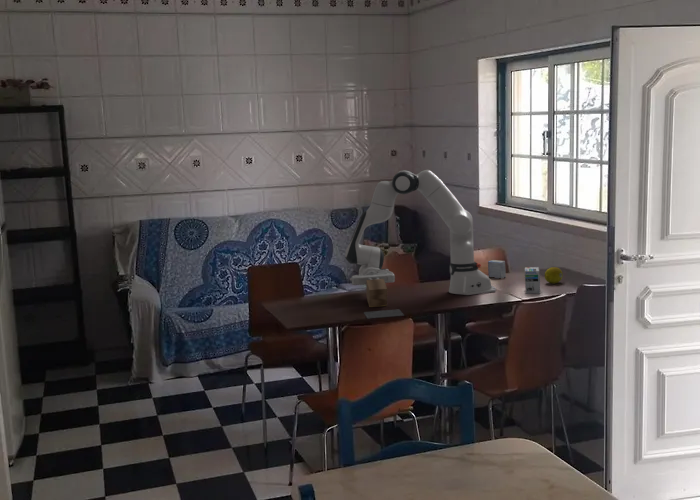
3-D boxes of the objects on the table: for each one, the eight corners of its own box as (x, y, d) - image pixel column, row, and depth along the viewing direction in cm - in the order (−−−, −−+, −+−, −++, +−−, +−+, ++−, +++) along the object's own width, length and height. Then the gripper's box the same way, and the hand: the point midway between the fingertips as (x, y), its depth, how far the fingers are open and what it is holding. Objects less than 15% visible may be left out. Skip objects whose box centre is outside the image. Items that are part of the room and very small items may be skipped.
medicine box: (506, 277, 402) (505, 261, 401) (501, 279, 399) (500, 262, 398) (493, 276, 408) (492, 259, 406) (488, 277, 405) (487, 261, 403)
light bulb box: (540, 293, 360) (539, 270, 358) (525, 294, 361) (524, 271, 360) (539, 289, 370) (539, 266, 369) (525, 289, 372) (524, 267, 370)
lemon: (551, 286, 375) (551, 269, 374) (540, 283, 382) (539, 267, 381) (568, 282, 380) (568, 266, 379) (556, 280, 387) (556, 264, 386)
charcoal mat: (399, 309, 345) (399, 309, 345) (404, 315, 333) (404, 315, 333) (363, 312, 343) (363, 312, 343) (367, 318, 331) (367, 318, 331)
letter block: (383, 295, 361) (383, 278, 357) (386, 305, 354) (387, 288, 349) (366, 296, 361) (366, 280, 356) (369, 307, 353) (369, 290, 348)
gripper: (348, 271, 370) (352, 276, 356) (391, 268, 372) (396, 273, 358) (349, 285, 371) (353, 290, 357) (392, 281, 373) (397, 286, 359)
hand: (375, 281), depth 358 cm, fingers closed, pressing on letter block
